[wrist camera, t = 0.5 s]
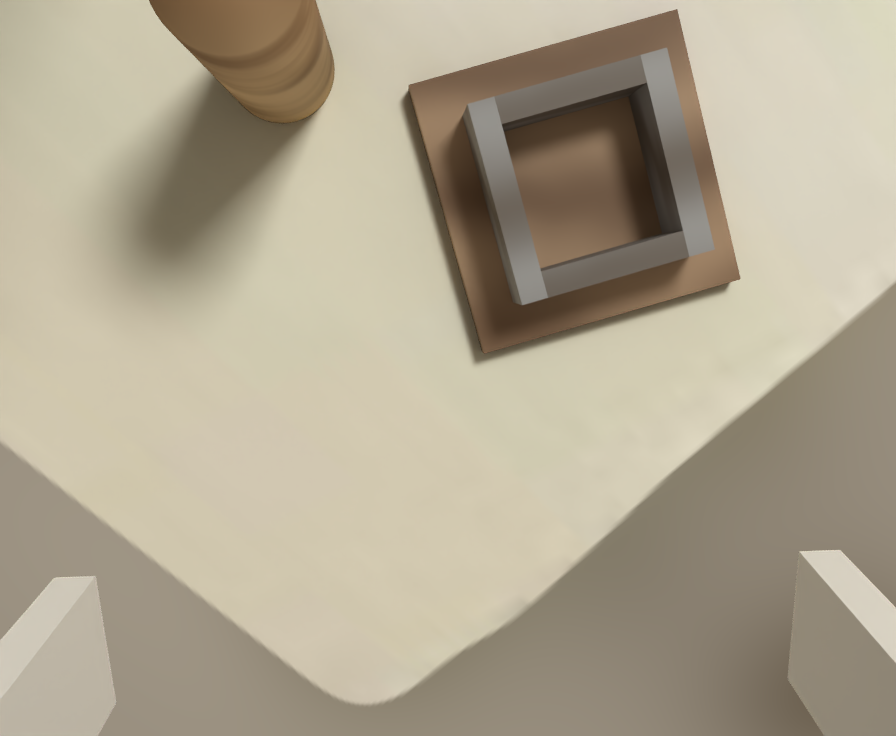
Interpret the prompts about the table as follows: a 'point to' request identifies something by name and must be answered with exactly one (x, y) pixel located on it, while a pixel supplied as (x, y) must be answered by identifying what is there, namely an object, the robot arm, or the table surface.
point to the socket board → (576, 181)
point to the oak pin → (258, 51)
